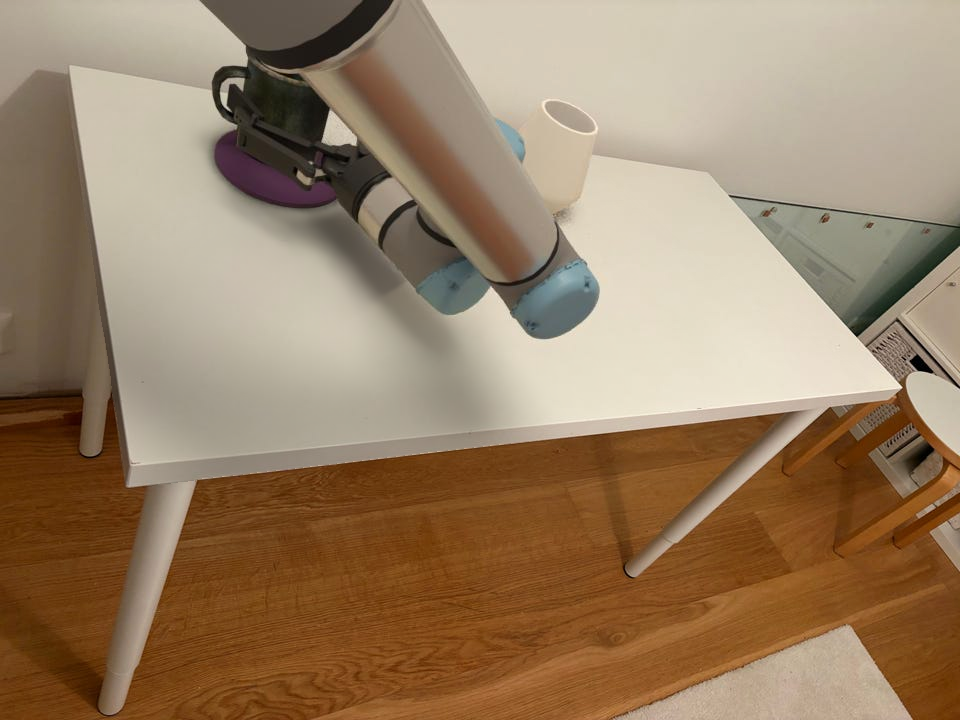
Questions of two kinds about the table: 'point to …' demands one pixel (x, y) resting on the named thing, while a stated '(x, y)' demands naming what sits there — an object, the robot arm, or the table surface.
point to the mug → (276, 98)
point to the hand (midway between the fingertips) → (281, 92)
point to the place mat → (266, 177)
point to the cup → (558, 151)
